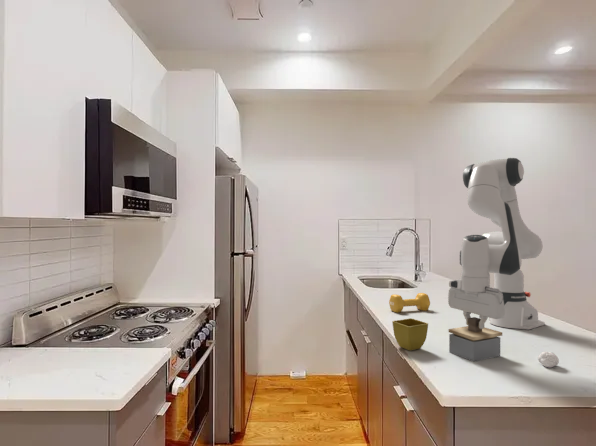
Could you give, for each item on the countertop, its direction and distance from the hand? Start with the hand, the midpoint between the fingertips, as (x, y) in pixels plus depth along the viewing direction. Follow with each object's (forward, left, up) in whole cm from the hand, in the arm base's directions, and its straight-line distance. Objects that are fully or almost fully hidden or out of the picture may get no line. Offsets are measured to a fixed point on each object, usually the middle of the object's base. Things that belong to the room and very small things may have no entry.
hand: (475, 326), depth 138 cm
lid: (0, 0, -4) cm, 4 cm away
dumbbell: (-24, -61, -9) cm, 66 cm away
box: (0, 0, -9) cm, 9 cm away
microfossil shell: (-11, +17, -9) cm, 23 cm away
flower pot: (+15, -14, -9) cm, 23 cm away
